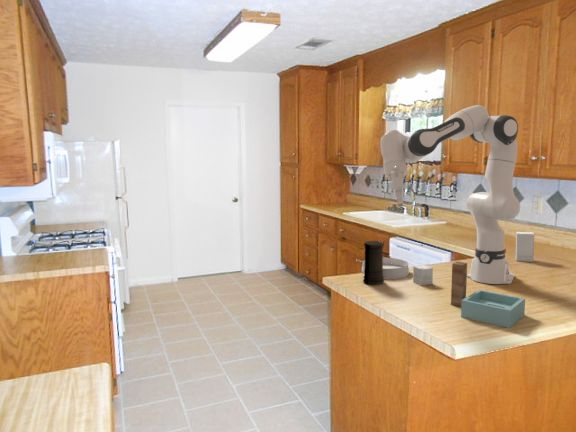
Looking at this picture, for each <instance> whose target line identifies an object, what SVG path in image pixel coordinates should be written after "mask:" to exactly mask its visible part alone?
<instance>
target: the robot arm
mask: <svg viewBox="0 0 576 432" xmlns="http://www.w3.org/2000/svg"><path fill="white" fill-rule="evenodd" d="M518 132H519V124H518V121H517V119H516V118H515V117H514V116H511V115H506V114H505V115H504V114H503V115H491V116H490V115H489V111H488V110H487V108H486V107H485V106H483V105H480V104H475V105H471V106H468V107H465V108H462V109H461V110H459V111H457V112H454V113H453V114H451V115H450V116H448V117H447V118H446V119H445V120H444V122H442V123H441V124H438V125H437V126H435V127H431V128H421V129H418V130H416V131H414V132H413V133H412V134H411V136H407V135H405V134H403V133H401V132H400V131H399V130H395V129H394V130H390V131H387V132H385V133H384V134H383V135H382V136H381V137H380V153H381V157H382V159H383V163H382V166H383V173H384V178H386V179H388V181H389V182H390V186H391V189H392V190H391V191H392V194H393V196H394V198H395V199H396V200H397V205H398V208H403V207H404V199H403V197H404V196H405V195H404V194H405V193H404V192H405V191H404V179H406V175H407V174H408V169H407V168H408V167H407V164H415V163H417V162H420V161H421V160H422V159H423V158H425V157H426V156H428V155H430V154H431V153H433V152H434V151H435V150H436V148H437V147H438V145H439V144H440V143H443V142H444V141H446V140H448V139H450V140H452V141H459V140H463V139H465V138H468V137H469V138H471V140H472V141H474V142H476V143H489V145H490V151H489V155H488V158H487V162H486V167H485V173H484V179H485V180H486V182H487V183H488V185H489V192H487V191H479V192H474V193H473V192H472V194H470V195H468V197H467V200H466V209H467V211H468V212H469V213H470V214H471V216H472V218H473V221H474V223H475V224H474V225H475V228H476V247H475V251H474V255H475V257H474V258H473V259H471V264H470V265H471V266H470V272H469V273H467V278H470V279H471V280H472V281H473V282H477V283H481V284H487V285H488V284H489V285H502V284H504V285H506V284H507V285H510V284H512V282H513V280H514V278H515V273H512V272H510V263H509V262H508V261H507V259H506V253H507V248H505V231H504V229H503V228H502V226H500V224H499V222H498V220H500V221H508V220H513V219H515V218H516V217H517V216H518V215H519V214H520V211H521V203H520V201H519V199H518V198H517V197H516V195H515V192H514V187H513V179H514V173H515V167H516V163H517V157H518V141H517V135H518Z"/></svg>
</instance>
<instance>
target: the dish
mask: <svg viewBox="0 0 576 432" xmlns="http://www.w3.org/2000/svg"><path fill="white" fill-rule="evenodd" d="M364 270H365V259H364V260H362V262H361V274H363V275H364V274H365V272H364ZM409 271H410V270H409V262H408V261H406V260H403V259H399V258H395V257H383V277H384V278H383V280H384V279H385V280H388V279H389V280H391V279H393V280H394V279H402V278H405V277H408V275H409Z"/></svg>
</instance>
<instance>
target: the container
mask: <svg viewBox="0 0 576 432" xmlns="http://www.w3.org/2000/svg"><path fill="white" fill-rule="evenodd" d="M363 245H364V249H365V250H364V260H365V270H364V272H365V274H363V275H364V276H363V279H362V281H363V283H364V284H365V285H369V286H380V285H383V284H384V282H385V280H384V279H383V278H384V277H383V258H384V257H383V256H384V253H383V252H384V251H383V248H384V245H385V244H384V242H382V241H377V240H376V241H375V240H374V241H373V240H372V241H370V240H369V241H365V242H364V244H363Z"/></svg>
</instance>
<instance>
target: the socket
mask: <svg viewBox="0 0 576 432" xmlns="http://www.w3.org/2000/svg"><path fill="white" fill-rule="evenodd" d="M460 311H461V312H460V317H461V318H465V319H469V320H473V321H477V322H481V323H485V324H486V323H487V324H490V325H493V326H494V325H495V326H498V327H502V328H507V329H510V328H512V327H513V325H515V324H516V323H517V322H518V321H519V320H521V319H522V318H523V317H524V316H525V311H526V298H524V297H519V296H513V295H509V294H508V295H507V294H505V293H498V292H493V291H487V290H483V289H478V290H476V291H474V292H473V293H471V294H470V295H468V296H466V298H465V299H463V300H462V304H461V310H460Z"/></svg>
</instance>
